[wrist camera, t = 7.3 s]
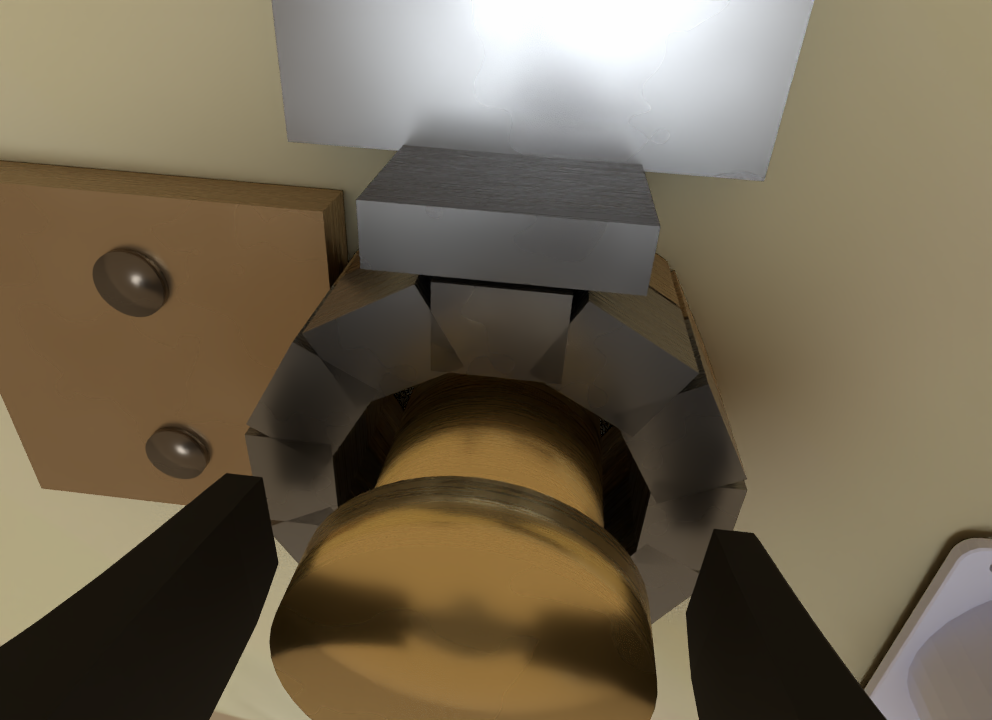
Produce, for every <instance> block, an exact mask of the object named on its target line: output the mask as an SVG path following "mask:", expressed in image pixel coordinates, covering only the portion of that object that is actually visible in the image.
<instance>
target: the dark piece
mask: <svg viewBox="0 0 992 720" xmlns="http://www.w3.org/2000/svg"><path fill="white" fill-rule="evenodd" d="M813 3H814V0H272V8H273V17H274V26H275V34H276V43H277V52H278V61H279V69H280V78H281V87H282V95H283V104H284V113H285V121H286V130H287V139H288V142H298V143H310V144H322V145H334V146H346V147H358V148H370V149H382V150H394V151H398V152H397V153H396V154H395V155H394V156H393V157H392V159H391V160H390V161H389V162H388V163H387V164H386V166H385V167H384V168H383V169H382V170H381V171H380V173H379V174H378V175H377V176H376V177H375V178H374V180H373V181H372V182H371V183H370V184H369V185H368V186H367V188H366V189H365V190H364V191H363V192H362V193H361V195H360V196H359V197H358V198H357V199H356V207H357V223H358V238H359V254H360V269H358V270H356V271H354V272H352V273H349V274H347V275H345V276H343V277H341V279H340V280H339V282H338V283H337V285H336V286H334V285H333V286H332V287H331V289H330V290H329V291H328V293H327V294H326V296H325V297H324V298H323V300H322V301H321V303H320V304H319V305H318V307H317V308H316V310H315V311H314V312H313V314H312V315H311V317H310V318H309V319H308V321H307V322H306V324H305V325H304V326H303V328H302V329H301V331H300V332H299V333H298V335H297V336H296V338H295V339H294V340H293V342H292V343H291V345H290V347H289V349H288V351H287V352H286V354H285V356H284V358H283V359H282V361H281V363H280V365H279V367H278V368H277V370H276V372H275V374H274V375H273V377H272V379H271V381H270V383H269V384H268V386H267V388H266V390H265V391H264V393H263V395H262V397H261V399H260V400H259V402H258V404H257V406H256V407H255V409H254V411H253V413H252V415H251V416H250V418H249V420H248V422H247V423H246V425H248V426H250V427H249V429H248V430H247V432H246V433H245V440H246V445H247V450H248V455H249V460H250V465H251V471H252V476H257V477H263V482H264V487H265V493H266V498H267V504H268V509H269V514H270V520H271V525H272V531H273V536H274V537H275V538H276V539H277V541H278V542H279V543H280V544H281V545H282V546H283V547H284V548H285V549H286V550H287V552H288V553H289V554H290V555H291V556H292V557H293V558H294V559H295V560H296V562H297V563H298V564H299V562H300V560H301V558H302V556H303V554H304V552H305V549H306V547H307V545H308V543H309V541H310V539H311V538H312V536H313V534H314V533H315V531H316V529H317V528H318V527H319V526H320V524H321V523H322V522H323V521H324V520H325V519H326V518H327V516H328V515H330V514H331V513H332V512H333V511H335V510H336V509H337V508H338V507H340V506H341V505H342V504H344V503H345V502H347V501H349V500H351V499H352V498H354V497H356V496H358V495H359V494H362V493H364V492H366V491H369V490H371V489H374V488H375V486H376V483H377V480H378V478H379V475H380V473H381V470H382V468H383V466H382V465H381V464H380V462H379V461H378V459H377V458H376V457H375V455H374V454H373V453H372V451H371V450H370V449H369V447H368V439H367V425H366V410H365V409H366V408H367V406H368V405H369V403H370V402H372V401H375V400H377V399H380V398H383V397H385V396H388V395H391V394H393V393H396V392H398V391H401V390H404V389H406V388H409V387H412V386H414V385H417V384H420V383H422V382H425V381H427V380H430V379H433V378H435V377H438V376H441V375H443V374H446V373H458V374H468V375H477V376H487V377H497V378H506V379H516V380H526V381H536V382H543V383H545V384H547V385H548V386H550V387H552V388H553V389H555V390H557V391H558V392H560V393H561V394H563V395H565V396H566V397H568V398H570V399H571V400H573V401H575V402H576V403H578V404H579V405H581V406H583V407H584V408H586V409H588V410H589V411H591V412H593V413H594V414H596V415H597V416H599V417H601V418H602V419H604V420H606V421H607V422H609V423H611V424H612V425H614V426H615V427H617V428H619V430H620V432H621V434H622V436H623V438H624V440H625V442H626V444H627V446H628V448H629V450H630V452H631V454H632V456H633V458H632V463H631V468H630V472H629V476H628V477H627V478H625V479H624V480H623V481H622V482H621V483H620V484H619V485H618V486H617V487H616V488H615V489H613V490H612V491H611V492H610V493H609V494H608V495H607V496H606V497H605V498H604V499H603V515H604V529H605V530H606V531H607V532H608V533H610V534H611V535H612V536H613V537H614V538H615V539H616V540H617V541H618V542H619V543H620V545H621V546H622V547H623V548H624V549H625V550H626V551H627V553H628V554H629V556H630V557H631V559H632V560H633V562H634V563H635V564H636V566H637V568H638V570H639V572H640V574H641V576H642V579H643V581H644V583H645V587H646V591H647V595H648V599H649V608H650V618H651V624H652V623H654V622H655V621H656V620H658V619H659V618H661V617H662V616H663V615H665V614H666V613H668V612H669V611H670V610H672V609H673V608H674V607H676V606H677V605H679V604H680V603H681V602H683V601H684V600H686V599H687V598H688V597H690V596H691V595H692V593H693V590H694V587H695V584H696V581H697V578H698V575H699V572H700V569H701V566H702V563H703V560H704V557H705V554H706V550H707V547H708V544H709V541H710V538H711V535H712V532H713V529H721V530H730V531H733V529H734V526H735V523H736V520H737V518H738V515H739V512H740V509H741V506H742V504H743V501H744V498H745V495H746V492H747V488H746V485H745V482H744V480H746V479H747V478H746V475H745V471H744V468H743V465H742V462H741V459H740V456H739V453H738V449H737V446H736V443H735V440H734V437H733V434H732V430H731V427H730V424H729V421H728V418H727V415H726V412H725V408H724V405H723V403H722V400H721V398H720V395H719V393H718V390H717V388H716V385H715V383H714V380H713V378H712V375H711V373H710V370H709V368H708V365H707V363H706V360H705V358H704V355H703V353H702V350H701V348H700V345H699V343H698V340H697V338H696V335H695V333H694V330H693V328H692V325H691V323H690V320H689V319H687V320H685V321H684V318H683V314H682V311H681V309H680V308H678V307H677V306H676V305H674V304H673V303H671V302H670V301H668V300H667V299H665V298H664V297H662V296H661V295H659V294H658V293H656V292H655V291H653V290H652V289H651V288H649V282H650V277H651V272H652V267H653V262H654V257H655V252H656V247H657V242H658V237H659V231H660V223H659V220H658V217H657V213H656V210H655V206H654V203H653V200H652V196H651V193H650V189H649V186H648V183H647V179H646V176H645V173H644V171H646V172H658V173H670V174H682V175H694V176H706V177H718V178H730V179H742V180H754V181H764V180H765V176H766V173H767V169H768V166H769V162H770V158H771V155H772V151H773V147H774V144H775V140H776V137H777V133H778V129H779V126H780V122H781V119H782V115H783V111H784V108H785V104H786V101H787V97H788V93H789V90H790V86H791V83H792V79H793V75H794V72H795V68H796V65H797V61H798V57H799V54H800V50H801V47H802V43H803V39H804V36H805V32H806V28H807V25H808V21H809V18H810V14H811V10H812V7H813Z"/></svg>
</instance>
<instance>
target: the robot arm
mask: <svg viewBox="0 0 992 720" xmlns="http://www.w3.org/2000/svg"><path fill="white" fill-rule="evenodd" d="M277 566H278V557H277V552H276V547H275V541H274V536H273V531H272V525H271V520H270V514H269V509H268V504H267V498H266V493H265V487H264V482H263V477H257V476H248V475H240V474H231V473H226V474H224V475H223V476H222V477H221V478H219V479H218V480H217V481H216V482H214V483H213V484H212V485H211V486H209V487H208V488H207V489H206V490H204V491H203V492H202V493H201V494H200V495H198V496H197V497H196V498H195V499H193V500H192V501H191V502H190V503H189V504H187V505H186V506H185V507H184V508H183V509H181V510H180V511H179V512H178V513H176V514H175V515H174V516H173V517H172V518H170V519H169V520H168V521H167V522H166V523H164V524H163V525H162V526H161V527H159V528H158V529H157V530H156V531H155V532H153V533H152V534H151V535H150V536H148V537H147V538H146V539H145V540H143V541H142V542H141V543H140V544H138V545H137V546H136V547H135V548H133V549H132V550H131V551H130V552H128V553H127V554H126V555H125V556H123V557H122V558H121V559H120V560H118V561H117V562H116V563H115V564H113V565H112V566H111V567H110V568H108V569H107V570H106V571H104V572H103V573H102V574H101V575H99V576H98V577H97V578H95V579H94V580H93V581H91V582H90V583H89V584H87V585H86V586H85V587H83V588H82V589H81V590H79V591H78V592H77V593H75V594H74V595H72V596H71V597H70V598H68V599H67V600H66V601H64V602H63V603H62V604H60V605H59V606H58V607H56V608H55V609H53V610H52V611H51V612H49V613H48V614H47V615H45V616H44V617H43V618H41V619H40V620H38V621H37V622H36V623H34V624H33V625H31V626H30V627H29V628H27V629H26V630H24V631H23V632H21V633H20V634H18V635H17V636H16V637H14V638H13V639H11V640H10V641H8V642H7V643H5V644H4V645H2V646H1V647H0V720H209V719H210V717H211V715H212V713H213V711H214V709H215V707H216V705H217V703H218V701H219V699H220V697H221V695H222V693H223V691H224V689H225V687H226V685H227V683H228V681H229V679H230V677H231V675H232V673H233V671H234V669H235V667H236V665H237V663H238V661H239V659H240V657H241V655H242V653H243V651H244V649H245V647H246V645H247V643H248V641H249V639H250V637H251V635H252V633H253V630H254V628H255V626H256V624H257V622H258V619H259V616H260V614H261V611H262V608H263V606H264V603H265V600H266V598H267V595H268V592H269V589H270V586H271V583H272V580H273V577H274V575H275V572H276V569H277ZM686 620H687V634H688V648H689V659H690V670H691V680H692V685H693V690H694V696H695V701H696V706H697V711H698V717H699V720H992V539H986V538H970V539H967V540H963V541H961V542H960V543H958V544H956V545H955V546H954V548H953V549H952V550H951V551H950V553H949V554H948V556H947V558H946V559H945V561H944V562H943V564H942V566H941V567H940V569H939V570H938V572H937V574H936V575H935V577H934V578H933V580H932V582H931V583H930V585H929V586H928V588H927V590H926V591H925V593H924V594H923V596H922V598H921V599H920V601H919V602H918V604H917V606H916V607H915V609H914V610H913V612H912V614H911V615H910V617H909V618H908V620H907V622H906V623H905V625H904V626H903V628H902V630H901V631H900V633H899V634H898V636H897V638H896V639H895V641H894V642H893V644H892V646H891V647H890V649H889V650H888V652H887V654H886V655H885V657H884V658H883V660H882V662H881V663H880V665H879V666H878V668H877V670H876V671H875V673H874V674H873V676H872V678H871V679H870V681H869V683H868V684H867V686H866V687H865V689H863V688H862V687H861V686H860V684H859V683H858V682H857V680H856V679H855V678H854V676H853V675H852V674H851V672H850V671H849V669H848V668H847V667H846V665H845V664H844V663H843V661H842V660H841V659H840V657H839V656H838V654H837V653H836V652H835V650H834V649H833V648H832V646H831V645H830V643H829V642H828V641H827V639H826V638H825V637H824V635H823V634H822V632H821V631H820V630H819V628H818V627H817V625H816V624H815V622H814V621H813V620H812V618H811V617H810V615H809V614H808V612H807V611H806V609H805V608H804V607H803V605H802V604H801V602H800V601H799V599H798V598H797V596H796V595H795V593H794V592H793V590H792V589H791V587H790V586H789V584H788V583H787V581H786V580H785V578H784V577H783V575H782V574H781V572H780V571H779V569H778V568H777V566H776V565H775V563H774V562H773V560H772V559H771V557H770V556H769V554H768V553H767V551H766V550H765V548H764V547H763V545H762V544H761V542H760V541H759V539H758V538H757V537H756V535H755V534H754V533H747V532H738V531H730V530H721V529H713V532H712V535H711V538H710V541H709V544H708V547H707V550H706V554H705V557H704V560H703V563H702V566H701V569H700V572H699V575H698V578H697V581H696V584H695V587H694V590H693V593H692V596H691V599H690V602H689V605H688V608H687V611H686Z"/></svg>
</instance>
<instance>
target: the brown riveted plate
mask: <svg viewBox="0 0 992 720" xmlns="http://www.w3.org/2000/svg"><path fill="white" fill-rule="evenodd" d="M358 269H360V254H359V249H358V251H357V252H356V253H355V255H354V256H353V258H352V259H351V260H350V262H349V263H348V256H347V243H346V229H345V216H344V202H343V191H340V190H329V189H317V188H306V187H295V186H283V185H272V184H260V183H249V182H237V181H226V180H214V179H203V178H192V177H180V176H169V175H157V174H146V173H134V172H123V171H111V170H100V169H88V168H77V167H66V166H54V165H43V164H31V163H20V162H8V161H0V394H1V396H2V398H3V401H4V403H5V405H6V407H7V410H8V412H9V414H10V417H11V419H12V421H13V424H14V426H15V428H16V430H17V433H18V435H19V437H20V440H21V442H22V444H23V447H24V449H25V451H26V453H27V456H28V458H29V460H30V463H31V465H32V467H33V470H34V472H35V474H36V476H37V479H38V481H39V483H40V486H41V488H44V489H52V490H61V491H69V492H78V493H86V494H95V495H103V496H112V497H120V498H129V499H137V500H146V501H154V502H163V503H171V504H180V505H187V504H189V503H190V502H191V501H192V500H193V499H195V498H196V497H197V496H198V495H200V494H201V493H202V492H203V491H204V490H206V489H207V488H208V487H209V486H211V485H212V484H213V483H214V482H216V481H217V480H218V479H219V478H221V477H222V476H223V475H224V474H226V473H231V474H240V475H248V476H252V471H251V465H250V460H249V455H248V450H247V445H246V440H245V433H246V432H247V430H248V429H249V427H250V426H248V425H246V423H247V422H248V420H249V418H250V416H251V415H252V413H253V411H254V409H255V407H256V406H257V404H258V402H259V400H260V399H261V397H262V395H263V393H264V391H265V390H266V388H267V386H268V384H269V383H270V381H271V379H272V377H273V375H274V374H275V372H276V370H277V368H278V367H279V365H280V363H281V361H282V359H283V358H284V356H285V354H286V352H287V351H288V349H289V347H290V345H291V343H292V342H293V340H294V339H295V338H296V336H297V335H298V333H299V332H300V331H301V329H302V328H303V326H304V325H305V324H306V322H307V321H308V319H309V318H310V317H311V315H312V314H313V312H314V311H315V310H316V308H317V307H318V305H319V304H320V303H321V301H322V300H323V298H324V297H325V296H326V294H327V293H328V291H329V290H330V289H331V287H332V286H333V285H334V286H336V285H337V283H338V282H339V280H340V279H341V277H343V276H345V275H347V274H349V273H352V272H354V271H356V270H358ZM649 288H651V289H652V290H653V291H655V292H656V293H658V294H659V295H661V296H662V297H664V298H665V299H667V300H668V301H670V302H671V303H673V304H674V305H676V306H677V307H678V308H680V309H681V311H682V314H683V318H684V321H685V320H687V319H689V320H690V323H691V325H692V328H693V330H694V333H695V335H696V338H697V340H698V343H699V345H700V348H701V350H702V353H703V355H704V358H705V360H706V363H707V365H708V368H709V370H710V373H711V375H712V378H713V380H714V383H715V385H716V388H717V390H718V386H717V383H716V380H715V377H714V374H713V371H712V368H711V364H710V361H709V358H708V355H707V352H706V349H705V346H704V344H703V341H702V339H701V336H700V334H699V331H698V329H697V326H696V324H695V321H694V318H693V316H692V313H691V311H690V308H689V306H688V303H687V301H686V298H685V296H684V293H683V291H682V288H681V286H680V283H679V281H678V278H677V275H676V273H675V270H674V271H672V272H670V269H669V265H668V262H667V261H666V260H664V259H663V258H661V257H660V256H659V255H657V254H656V253H655V257H654V262H653V267H652V272H651V277H650V282H649ZM718 393H719V390H718ZM719 395H720V393H719ZM720 398H721V396H720ZM721 400H722V399H721ZM365 410H366V425H367V439H368V447H369V449H370V450H371V451H372V453H373V454H374V455H375V457H376V458H377V459H378V461H379V462H380V464H381V465H382V466H383V465H384V462H385V460H386V457H387V455H388V452H389V450H390V447H391V444H392V442H393V439H394V437H395V434H396V432H397V429H398V426H399V424H400V421H401V419H402V416H403V414H404V410H403V409H402V407H401V406H400V404H399V403H398V401H397V400H396V398H395V397H394V395H393V394H391V395H388V396H385V397H383V398H380V399H377V400H375V401H372V402H370V403H369V405H368V406H367V408H366V409H365ZM632 458H633V456H632V454H631V452H630V450H629V448H628V446H627V444H626V442H625V440H624V438H623V436H622V434H621V432H620V430H619V428H617V427H615V426H614V425H613V426H612V427H611V428H610V429H609V430H608V431H607V432H606V433H605V434H604V435H603V436H602V437H601V461H602V488H603V499H604V498H605V497H606V496H607V495H608V494H609V493H610V492H611V491H612V490H613V489H615V488H616V487H617V486H618V485H619V484H620V483H621V482H622V481H623V480H624V479H625V478H627V477H628V476H629V472H630V468H631V463H632Z"/></svg>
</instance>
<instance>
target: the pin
mask: <svg viewBox="0 0 992 720" xmlns="http://www.w3.org/2000/svg"><path fill="white" fill-rule="evenodd" d="M270 651H271V658H272V662H273V665H274V668H275V671H276V674H277V676H278V677H279V679H280V681H281V683H282V685H283V687H284V689H285V690H286V691H287V693H288V694H289V695H290V697H291V698H292V700H293V701H294V702H295V703H296V704H297V705H298V706H299V708H300V709H301V710H302V711H303V712H304V713H305V714H306V715H307V716H308V717H309V718H311V719H312V720H650V719H651V716H652V714H653V712H654V709H655V704H656V699H657V676H656V666H655V657H654V647H653V637H652V627H651V618H650V608H649V599H648V595H647V591H646V587H645V583H644V581H643V579H642V576H641V574H640V572H639V570H638V568H637V566H636V564H635V563H634V562H633V560H632V559H631V557H630V556H629V554H628V553H627V551H626V550H625V549H624V548H623V547H622V546H621V545H620V543H619V542H618V541H617V540H616V539H615V538H614V537H613V536H612V535H611V534H610V533H608V532H607V531H606V530H605V529H604V515H603V488H602V461H601V434H600V417H599V416H597V415H596V414H594V413H593V412H591V411H589V410H588V409H586V408H584V407H583V406H581V405H579V404H578V403H576V402H575V401H573V400H571V399H570V398H568V397H566V396H565V395H563V394H561V393H560V392H558V391H557V390H555V389H553V388H552V387H550V386H548V385H547V384H545V383H543V382H536V381H526V380H516V379H506V378H497V377H487V376H477V375H468V374H458V373H446V374H443V375H441V376H438V377H435V378H433V379H430V380H427V381H425V382H422V383H420V384H417V385H414V388H413V390H412V393H411V396H410V398H409V401H408V403H407V406H406V408H405V411H404V414H403V416H402V419H401V421H400V424H399V426H398V429H397V432H396V434H395V437H394V439H393V442H392V444H391V447H390V450H389V452H388V455H387V457H386V460H385V462H384V465H383V468H382V470H381V473H380V475H379V478H378V480H377V483H376V486H375V488H374V489H371V490H369V491H366V492H364V493H362V494H359V495H358V496H356V497H354V498H352V499H351V500H349V501H347V502H345V503H344V504H342V505H341V506H340V507H338V508H337V509H336V510H335V511H333V512H332V513H331V514H330V515H328V516H327V518H326V519H325V520H324V521H323V522H322V523H321V524H320V526H319V527H318V528H317V529H316V531H315V533H314V534H313V536H312V538H311V539H310V541H309V543H308V545H307V547H306V549H305V552H304V554H303V556H302V558H301V560H300V562H299V564H298V567H297V569H296V571H295V573H294V575H293V577H292V580H291V582H290V584H289V586H288V588H287V590H286V592H285V595H284V597H283V599H282V601H281V603H280V605H279V607H278V610H277V612H276V614H275V617H274V620H273V623H272V626H271V633H270Z"/></svg>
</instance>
